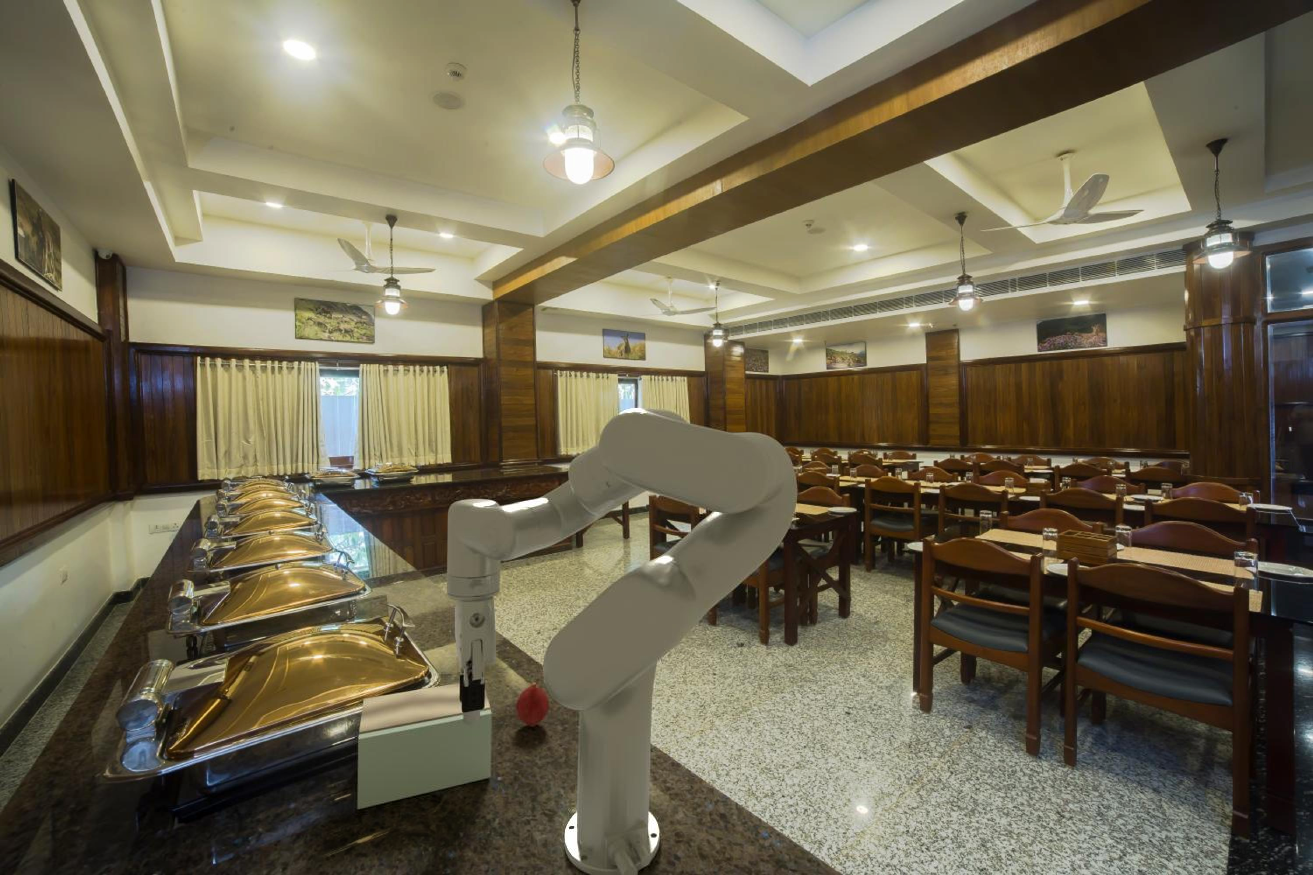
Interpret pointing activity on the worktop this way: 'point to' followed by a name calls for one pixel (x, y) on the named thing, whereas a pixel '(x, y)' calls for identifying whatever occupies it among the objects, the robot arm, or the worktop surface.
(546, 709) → the onion
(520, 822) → the worktop surface
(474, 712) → the cupboard door
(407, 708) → the cupboard
